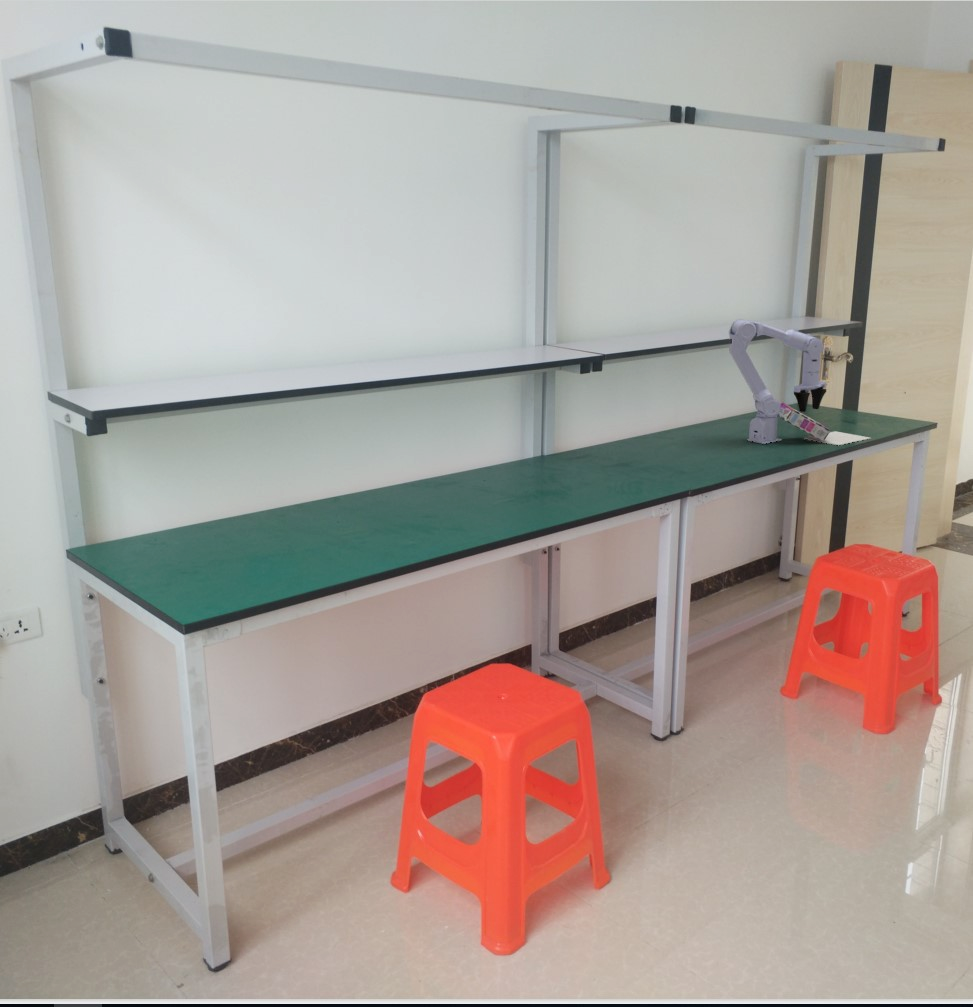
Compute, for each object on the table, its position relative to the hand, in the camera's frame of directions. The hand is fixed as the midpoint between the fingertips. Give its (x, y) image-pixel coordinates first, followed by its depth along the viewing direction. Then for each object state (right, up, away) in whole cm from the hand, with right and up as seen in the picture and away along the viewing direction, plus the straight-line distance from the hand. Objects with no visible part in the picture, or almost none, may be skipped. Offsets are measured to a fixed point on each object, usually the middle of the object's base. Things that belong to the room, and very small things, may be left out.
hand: (809, 410), depth 341 cm
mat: (+11, -10, +2) cm, 15 cm away
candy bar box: (+5, -8, 0) cm, 9 cm away
